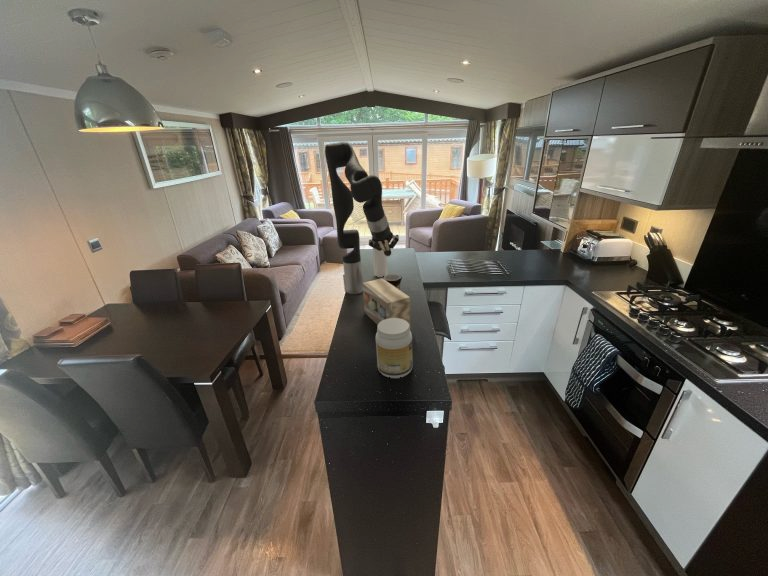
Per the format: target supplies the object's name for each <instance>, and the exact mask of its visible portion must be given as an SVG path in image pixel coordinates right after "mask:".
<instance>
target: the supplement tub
mask: <svg viewBox="0 0 768 576" xmlns="http://www.w3.org/2000/svg"><path fill="white" fill-rule="evenodd" d="M375 346H376V347H375V349H376V363H377V369H378V371H379V373H381V375H382V376H384V377H387V378H389V377H390V379H401V378H404V377H406V376H407V375H408V374H410V373H411V372H412V369H413V367H414V365H413V364H414V361H413V357H414V356H413V333H412V331H411V327H410V328H409V323H408V322H407V321H405V320H403V319H400V318H388V319H385V320H382V321H381V322H379V324H378V325H377V329H376V333H375ZM400 377H401V378H400Z"/></svg>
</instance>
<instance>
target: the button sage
mask: <svg viewBox="0 0 768 576" xmlns="http://www.w3.org/2000/svg"><path fill="white" fill-rule="evenodd" d="M368 305H369V309H370V310H371V311H375V310H377V305H376V302H375V301H374V300H373V301H370V302H369V303H368Z"/></svg>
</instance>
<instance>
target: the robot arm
mask: <svg viewBox="0 0 768 576" xmlns="http://www.w3.org/2000/svg"><path fill="white" fill-rule="evenodd" d="M324 156H325V160H326V166H327V172H328V176H329V182H330V186H331V187H330V190H331V198H332V205H333V211H334V217H335V222H336V225H335V226H336V235H337V236H336V238H337V244H338V247H339V248H340V249H343V250H345V249H346V250H347V249H352V250H351V251H349V252H347V253H345V254H344V255H343V256H342V263H343V272H344V274H343V275H342V276H343V278H342V279H343V286H344V287H343V288H344V292H345V293H347V294H348V295H358V294H361V293H363V286H362V283H364V282H363V272H362V271H363V270H362V268H363V267H362V260H361V259H362V258H361V247H360V246H361V245H360V243H361V241H360V231H359V230H358V229H345V225H346V224H347V222H348V220H349V219H350V217H351V216H352V213H353V212H354V206H355V204H354V201H355V202H357V203H361V204H362V203H363V205H362V210H363V213H364V215H365V219H366V224H367V227H368V229H369V232H370V234H371V238H370V239H369V240H368V246H370V247H371V248H372V249H373V248H375V249H377V250H378V251H381V250H383V251H384V254H385V255H386V256H387V257H390V256H391V255H392V249H394V248H395V246H396V245H397V244H398V242H399V241H400V239H399V238H400V235H399V234H396V235H395V234H394V233H393V232H392V231H391V227H390V225H389V220H388V218H387V216H386V213H385V210H384V206H383V186H382V182H381V179H380V178H379V177H378V176H377V175H375V174H370V175H368V173H367V171H366V170H365V169H364V167H363V166H362V165H361V164H360V161H359V159H358V157H357V155H356V152H355V150H354V148H353V146H352V145H351V143H350V142H348V141H340V142H334V143H327V144H326V145H325V148H324ZM340 168H344V177H345V178H346V180H347V182H348V183H349V184H350V185H349V186H350V188H349V187H348V185H346V184H345V182H344V181H343V180H342V178H341V177H340V176H339V173H338V172H337V169H340ZM385 245H386V246H385ZM347 288H348V289H347Z"/></svg>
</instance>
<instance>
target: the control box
mask: <svg viewBox="0 0 768 576" xmlns="http://www.w3.org/2000/svg"><path fill="white" fill-rule="evenodd" d="M362 286H363V292H362V297H363V299H364V295H365V294H368V295H369V297H370V301H373V300H374V301H375V302H376V305H377V310H375V311H371V310H370V309H369V305H368V304H366V303H365V301H364V300H363V307H364V314H365V315H367V316H368V317H369V319H370V320H372V321H373V322H374V323H375V324H376V325H377V326H378V324H379V322H381V321H382V320H385V319H388V318H400V319H403V320H405V321H407V322H408V323H409V328H410V329H411V297H410V296H409V295H407V293H404V292H403V291H402V290H401V289H400V290H399V289H397V288H396V287H394V286H393V285H391V284H390V283H388V282H387V281H386V280H384V277H380V278H376V279H373V280H370V281H364V282H363V283H362ZM381 307H383V308H384V309H386V317H384V318H381V317H380V315H379V308H381Z"/></svg>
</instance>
